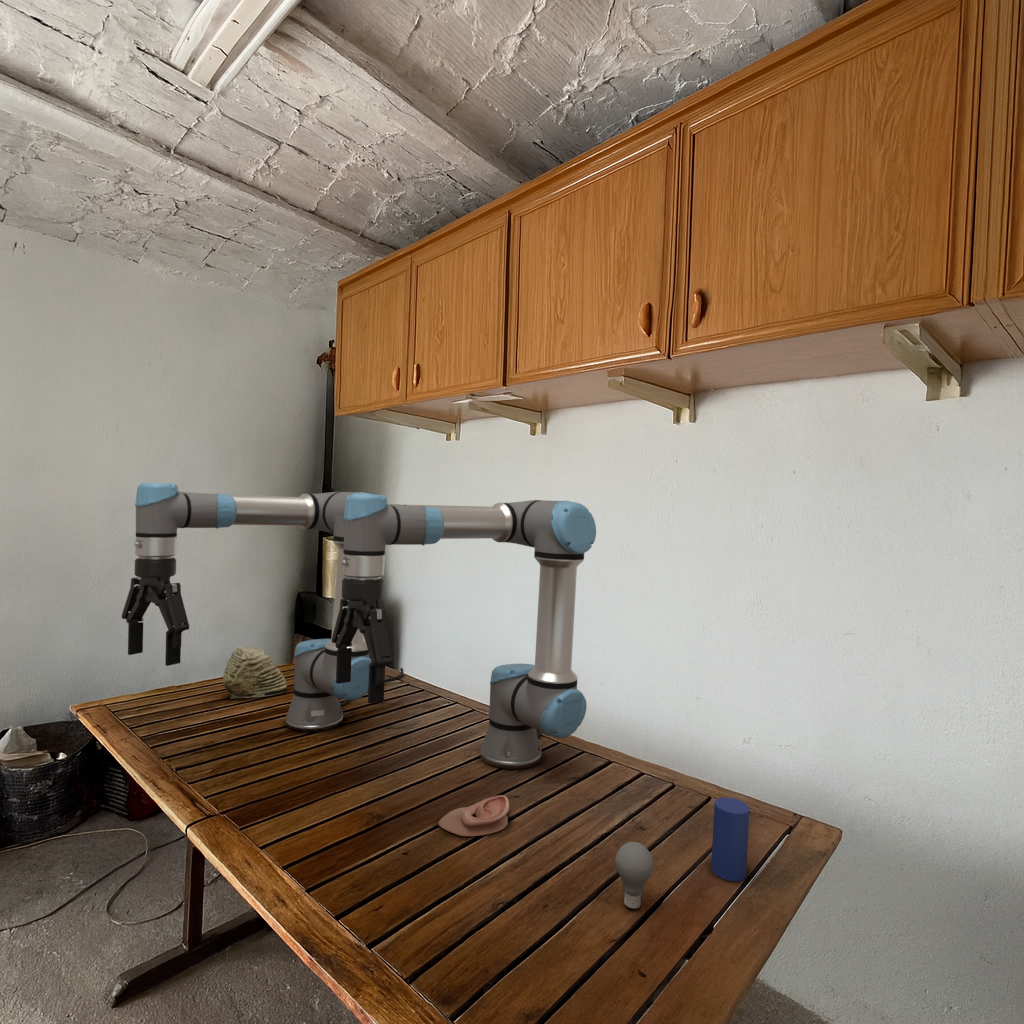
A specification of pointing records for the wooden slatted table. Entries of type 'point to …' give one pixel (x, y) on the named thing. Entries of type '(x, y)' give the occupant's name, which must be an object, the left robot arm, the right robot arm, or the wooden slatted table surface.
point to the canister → (730, 839)
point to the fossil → (252, 674)
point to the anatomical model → (478, 817)
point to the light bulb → (633, 871)
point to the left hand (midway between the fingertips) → (153, 658)
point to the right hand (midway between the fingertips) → (358, 691)
